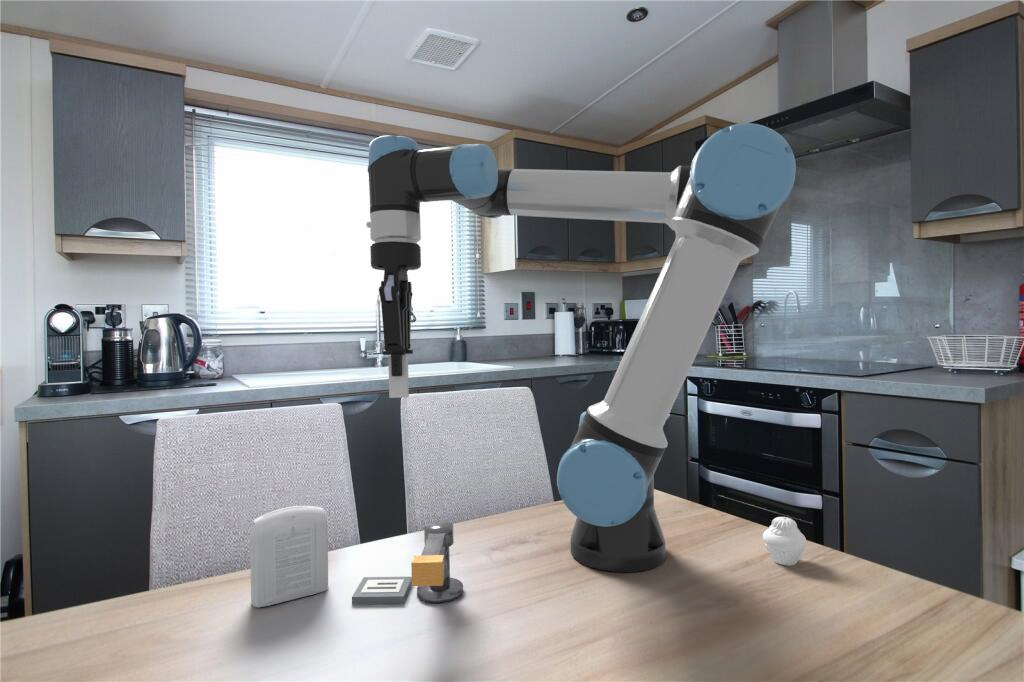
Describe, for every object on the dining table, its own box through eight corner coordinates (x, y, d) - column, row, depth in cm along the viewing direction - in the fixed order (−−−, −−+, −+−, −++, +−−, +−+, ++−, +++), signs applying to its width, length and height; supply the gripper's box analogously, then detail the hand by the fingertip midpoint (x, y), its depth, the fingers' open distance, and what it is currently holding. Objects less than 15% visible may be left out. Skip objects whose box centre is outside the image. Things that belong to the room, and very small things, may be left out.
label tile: (412, 583, 83) (411, 575, 83) (403, 603, 77) (403, 595, 77) (363, 583, 83) (363, 576, 83) (351, 604, 77) (351, 595, 77)
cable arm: (426, 539, 82) (426, 520, 82) (454, 538, 82) (454, 519, 82) (410, 586, 67) (409, 562, 67) (444, 585, 67) (443, 562, 67)
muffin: (793, 553, 92) (793, 509, 91) (815, 569, 85) (815, 523, 85) (755, 554, 91) (755, 510, 91) (774, 570, 85) (774, 524, 85)
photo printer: (324, 580, 85) (322, 497, 84) (332, 591, 81) (330, 505, 81) (248, 599, 79) (245, 511, 79) (254, 612, 75) (251, 519, 75)
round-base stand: (465, 582, 83) (464, 537, 83) (460, 603, 77) (459, 555, 77) (421, 582, 83) (420, 537, 83) (413, 604, 77) (412, 555, 77)
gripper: (381, 249, 94) (384, 392, 95) (359, 237, 81) (363, 403, 82) (426, 248, 94) (429, 391, 95) (412, 236, 81) (416, 402, 82)
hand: (399, 396), depth 88 cm, fingers closed
